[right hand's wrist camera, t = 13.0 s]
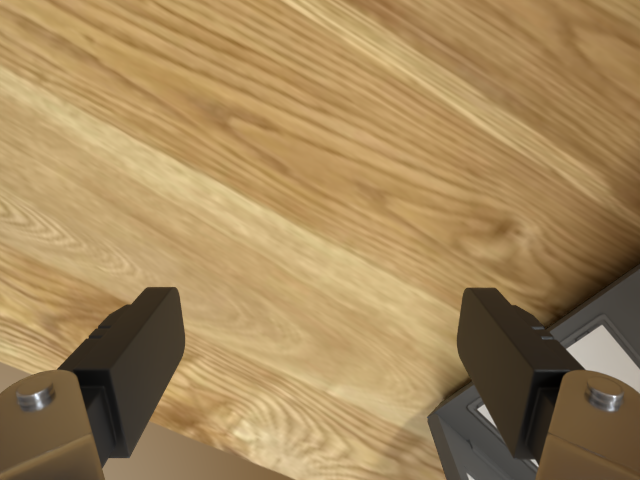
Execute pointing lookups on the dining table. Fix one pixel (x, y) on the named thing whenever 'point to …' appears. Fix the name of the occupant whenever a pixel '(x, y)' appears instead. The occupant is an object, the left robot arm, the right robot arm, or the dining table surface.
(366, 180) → the dining table surface
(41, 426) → the right robot arm
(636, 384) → the laptop
